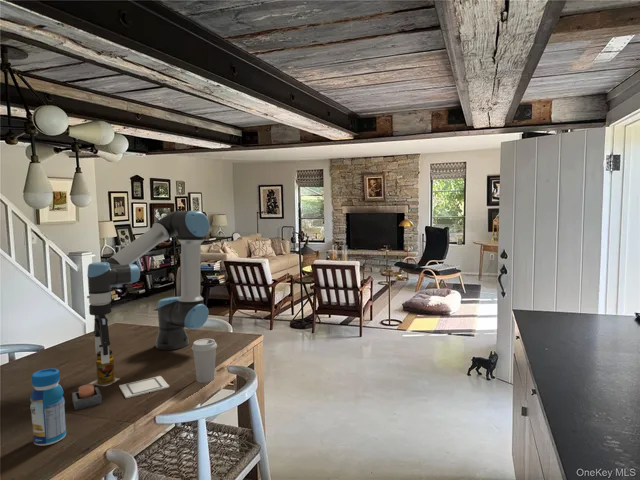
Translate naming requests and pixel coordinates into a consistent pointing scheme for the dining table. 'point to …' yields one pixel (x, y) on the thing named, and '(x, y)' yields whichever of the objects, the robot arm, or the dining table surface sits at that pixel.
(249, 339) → the dining table surface
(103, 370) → the condiment
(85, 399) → the button box
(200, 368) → the coffee cup
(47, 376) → the beverage bottle
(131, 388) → the white rectangular plate
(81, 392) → the button
